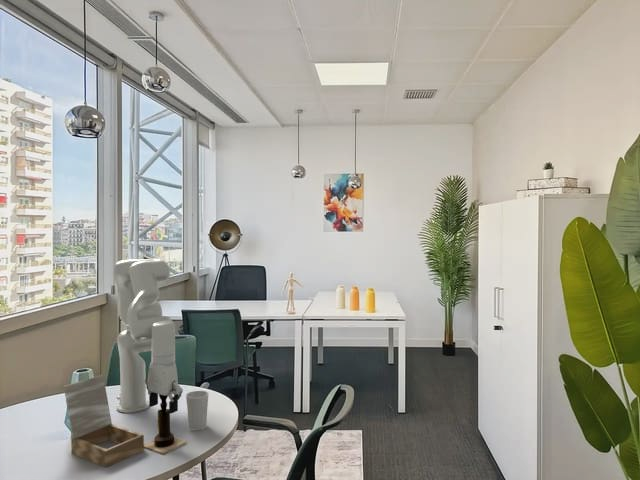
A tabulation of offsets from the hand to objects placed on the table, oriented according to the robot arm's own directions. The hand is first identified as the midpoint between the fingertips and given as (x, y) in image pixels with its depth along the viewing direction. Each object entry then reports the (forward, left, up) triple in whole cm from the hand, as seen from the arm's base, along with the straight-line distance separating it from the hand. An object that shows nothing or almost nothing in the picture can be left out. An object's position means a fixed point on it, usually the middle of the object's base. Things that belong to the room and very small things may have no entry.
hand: (163, 408), depth 172 cm
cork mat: (+1, 0, -12) cm, 12 cm away
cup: (-1, +17, -12) cm, 21 cm away
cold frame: (-13, -13, -12) cm, 22 cm away
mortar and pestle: (+1, 0, -12) cm, 12 cm away
